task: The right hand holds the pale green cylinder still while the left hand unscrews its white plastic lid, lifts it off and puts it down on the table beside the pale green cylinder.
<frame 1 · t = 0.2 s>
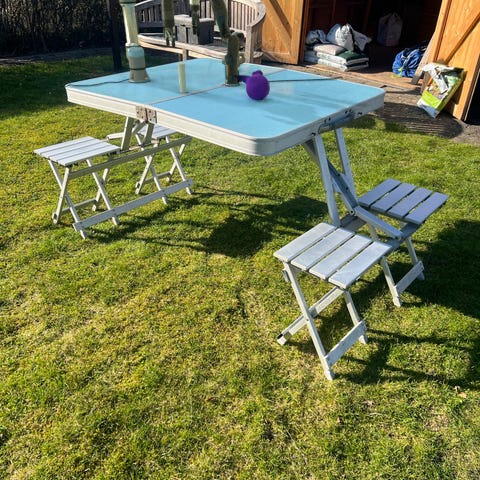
left hand: (196, 35, 349), 28 cm above the table, tool pointing down, fingers open, 13 cm apart
right hand: (170, 46, 286), 29 cm above the table, tool pointing down, fingers open, 8 cm apart
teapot: (233, 70, 372), on the table
toy: (253, 98, 284), on the table
pale green cylinder: (183, 92, 304), on the table
lid: (181, 64, 295), point 18 cm above the table, screwed on, not yet turned
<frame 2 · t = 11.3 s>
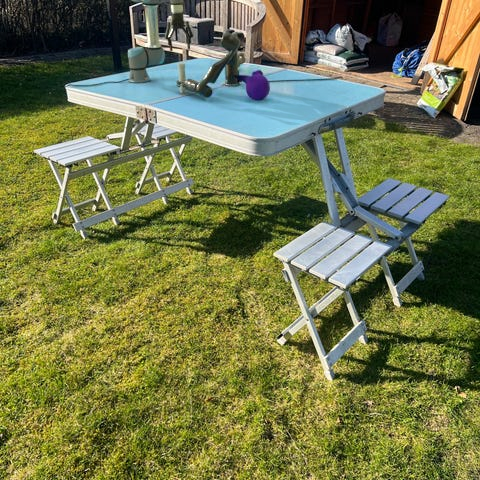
left hand: (180, 50, 291), 27 cm above the table, tool pointing down, fingers open, 11 cm apart
right hand: (180, 81, 303), 6 cm above the table, tool horizontal, fingers closed on pale green cylinder, 4 cm apart
pale green cylinder: (183, 92, 304), on the table, touching right hand
everything else where it was.
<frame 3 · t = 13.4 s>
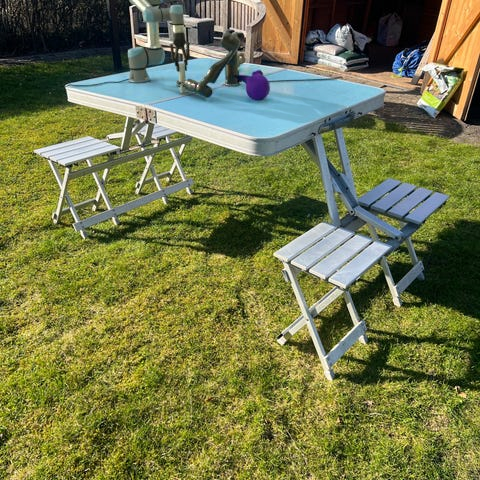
left hand: (181, 70, 297), 14 cm above the table, tool pointing down, fingers closed on lid, 5 cm apart
right hand: (180, 81, 303), 6 cm above the table, tool horizontal, fingers closed on pale green cylinder, 4 cm apart
pale green cylinder: (183, 92, 304), on the table, touching right hand
lid: (181, 64, 295), point 18 cm above the table, screwed on, not yet turned, touching left hand
everything else where it was.
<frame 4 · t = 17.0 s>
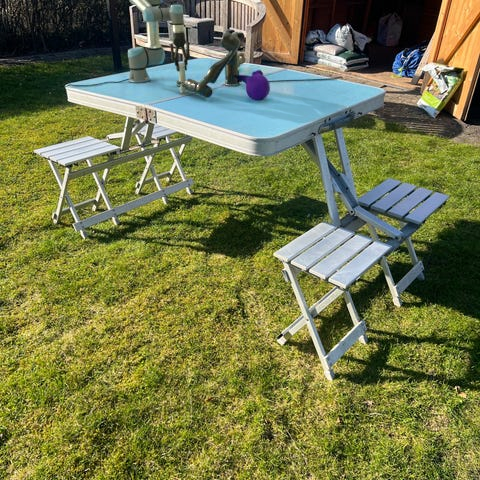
left hand: (181, 70, 297), 14 cm above the table, tool pointing down, fingers closed on lid, 5 cm apart
right hand: (180, 81, 303), 6 cm above the table, tool horizontal, fingers closed on pale green cylinder, 4 cm apart
pale green cylinder: (183, 92, 304), on the table, touching right hand
lid: (181, 63, 295), point 18 cm above the table, turned 125° so far, risen 0.2 cm, still on its thread, touching left hand
everything else where it was.
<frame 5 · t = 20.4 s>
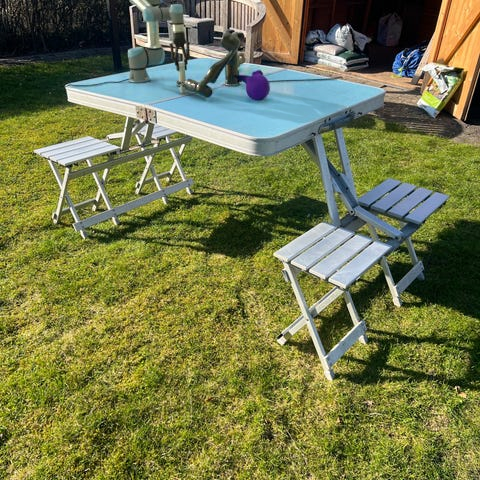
left hand: (181, 70, 297), 14 cm above the table, tool pointing down, fingers closed on lid, 5 cm apart
right hand: (180, 81, 303), 6 cm above the table, tool horizontal, fingers closed on pale green cylinder, 4 cm apart
pale green cylinder: (183, 92, 304), on the table, touching right hand
lid: (181, 63, 295), point 18 cm above the table, turned 249° so far, risen 0.4 cm, still on its thread, touching left hand
everything else where it was.
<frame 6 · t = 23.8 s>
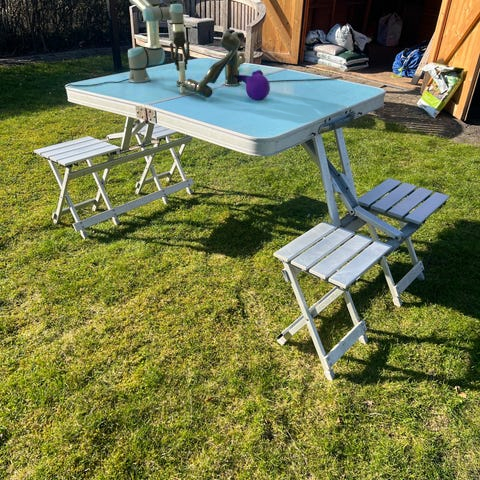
left hand: (181, 69, 297), 14 cm above the table, tool pointing down, fingers closed on lid, 5 cm apart
right hand: (180, 81, 303), 6 cm above the table, tool horizontal, fingers closed on pale green cylinder, 4 cm apart
pale green cylinder: (183, 92, 304), on the table, touching right hand
lid: (181, 63, 295), point 19 cm above the table, turned 374° so far, risen 0.6 cm, still on its thread, touching left hand
everything else where it was.
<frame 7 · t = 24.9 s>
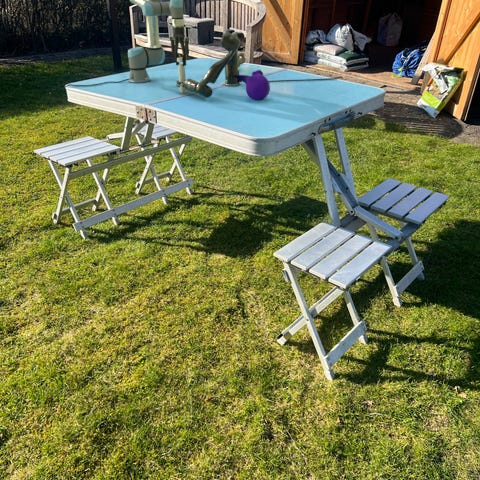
left hand: (181, 65, 296), 17 cm above the table, tool pointing down, fingers closed on lid, 5 cm apart
right hand: (180, 81, 303), 6 cm above the table, tool horizontal, fingers closed on pale green cylinder, 4 cm apart
pale green cylinder: (183, 92, 304), on the table, touching right hand
lid: (180, 58, 293), point 21 cm above the table, off its thread, touching left hand
everything else where it was.
when the left hand's fingers open (0 cm above the table, at t = 29.7 s): lid drops 3 cm, point 2 cm above the table.
when the right hand's fingers open (6 cm above the table, at t = 30.8 s): pale green cylinder stays where it is, on the table.
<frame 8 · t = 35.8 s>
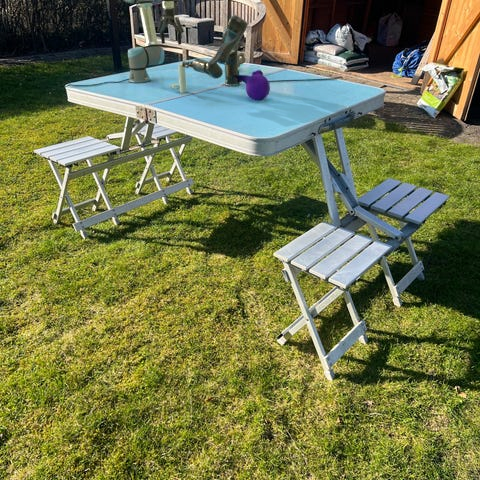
left hand: (171, 44, 302), 29 cm above the table, tool pointing down, fingers open, 13 cm apart
right hand: (189, 62, 285), 20 cm above the table, tool horizontal, fingers open, 8 cm apart
pale green cylinder: (183, 92, 304), on the table
lid: (175, 85, 315), point 2 cm above the table, off its thread
everything else where it was.
at the end: lid came off its thread; lid point 1.9 cm above the table; the left hand is holding nothing; the right hand is holding nothing; pale green cylinder tilted 0°; pale green cylinder moved 0.0 cm from its start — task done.
